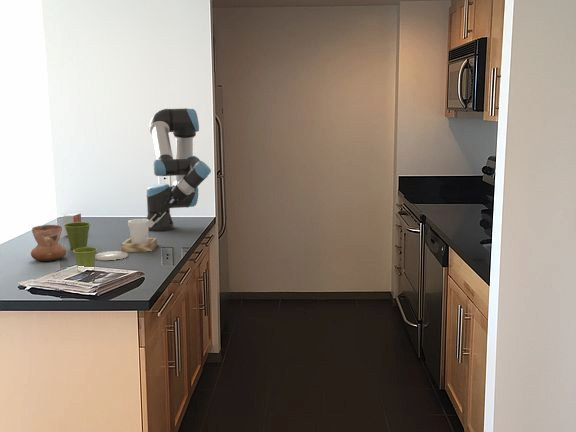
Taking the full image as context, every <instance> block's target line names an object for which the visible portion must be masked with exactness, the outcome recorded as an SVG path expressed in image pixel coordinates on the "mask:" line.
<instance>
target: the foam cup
mask: <svg viewBox="0 0 576 432" xmlns="http://www.w3.org/2000/svg"><path fill="white" fill-rule="evenodd" d="M148 221H149V220H148V219H147V218H136V219H135V218H134V219H129V220H127V225H128V230H129V235H130V238H131V241H132V244H143V243H147V242H148V238H149V231H150V230H149V226H148V225H147V224H146V223H147V222H148Z"/></svg>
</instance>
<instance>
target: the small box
mask: <svg viewBox="0 0 576 432" xmlns="http://www.w3.org/2000/svg"><path fill="white" fill-rule="evenodd" d="M62 217H63V230H64V236H65V237H68V235H67V231H66V228H65V226H64V225H65V224H68V223H75V222H82V214H81V213H78V212H75V213H74V212H73V213H72V212H71V213H68V214H66V215H65V214H64V215H63V216H62Z"/></svg>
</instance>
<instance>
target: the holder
mask: <svg viewBox="0 0 576 432" xmlns="http://www.w3.org/2000/svg"><path fill="white" fill-rule="evenodd" d="M120 244H121V245H120V246H121V251H122V252H126V253H131V252H132V253H133V252H134V253H135V252H137V253H138V252H140V253H141V252H144V253H145V252H146V251H151V252H153V250H154V249H156V247H158V238H157V237H148V242H147V243H143V244H132V241H131V237H128V238H127V239H125V240H124V241H123V242H122V243H120Z"/></svg>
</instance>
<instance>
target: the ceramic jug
mask: <svg viewBox="0 0 576 432" xmlns="http://www.w3.org/2000/svg"><path fill="white" fill-rule="evenodd" d="M62 230H63V227H62V226H61V225H58V224H44V225H36V226H33V227H32V228H31V232H32V235H33V237H34V240H35V241H36V244H37V245H36V246H35V247H34V248H32V250H31V252H30V255H31V256H30V257H31V258H32V259H33V260H36V261H37V262H38V261H39V262H53V261H56V260H59V259H62V258H64V256H66V254H67V248H66V247H64V246H63V245H62V244H59V241H60V239H61V235H62V232H63V231H62Z"/></svg>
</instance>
